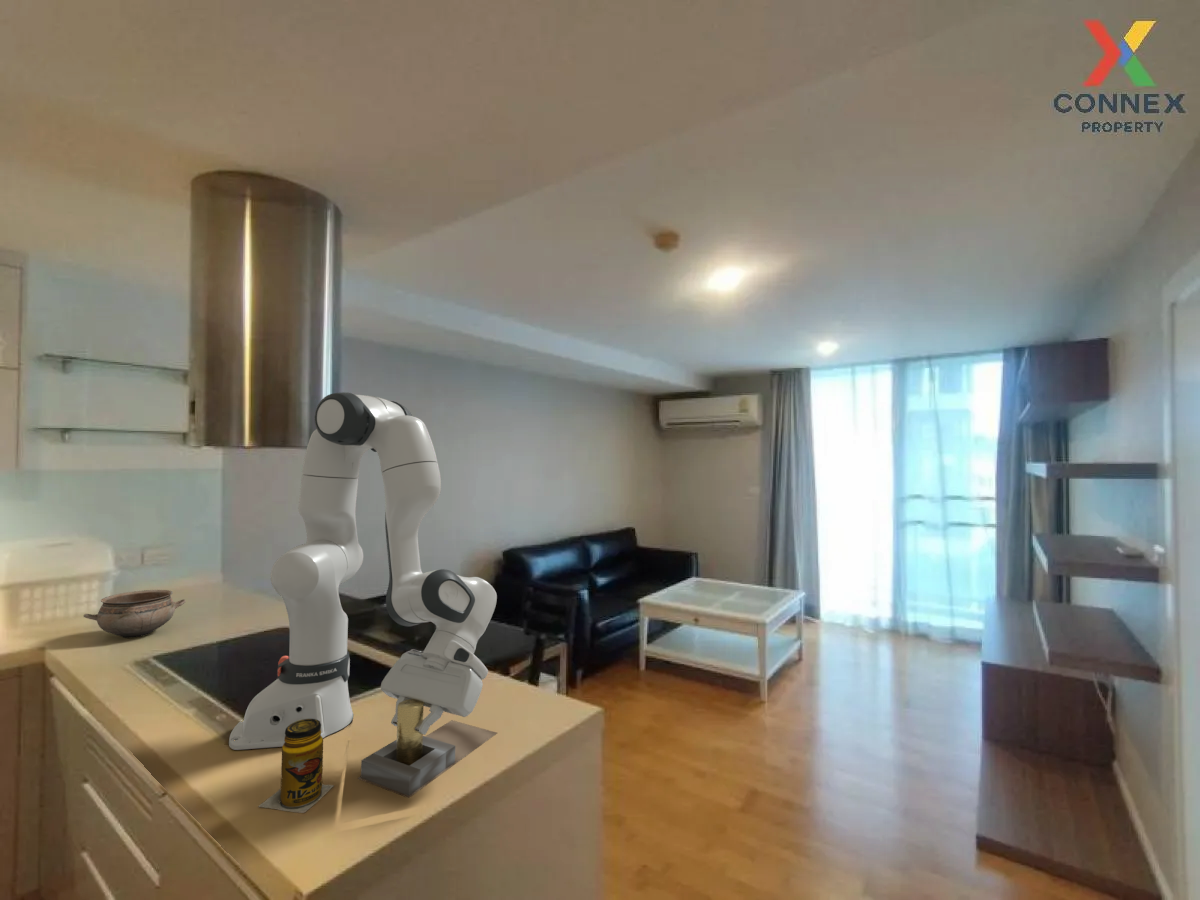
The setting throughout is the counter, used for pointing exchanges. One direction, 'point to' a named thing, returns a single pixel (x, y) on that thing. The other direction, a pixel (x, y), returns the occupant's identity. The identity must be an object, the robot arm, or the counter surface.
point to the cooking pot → (135, 612)
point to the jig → (423, 758)
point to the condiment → (300, 768)
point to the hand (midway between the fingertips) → (407, 729)
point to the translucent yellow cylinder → (409, 731)
